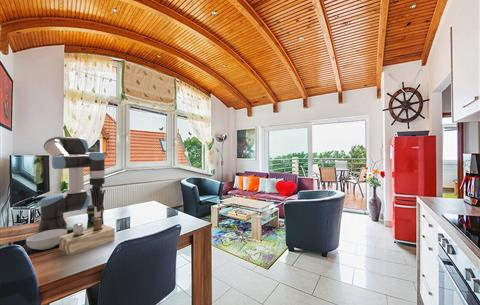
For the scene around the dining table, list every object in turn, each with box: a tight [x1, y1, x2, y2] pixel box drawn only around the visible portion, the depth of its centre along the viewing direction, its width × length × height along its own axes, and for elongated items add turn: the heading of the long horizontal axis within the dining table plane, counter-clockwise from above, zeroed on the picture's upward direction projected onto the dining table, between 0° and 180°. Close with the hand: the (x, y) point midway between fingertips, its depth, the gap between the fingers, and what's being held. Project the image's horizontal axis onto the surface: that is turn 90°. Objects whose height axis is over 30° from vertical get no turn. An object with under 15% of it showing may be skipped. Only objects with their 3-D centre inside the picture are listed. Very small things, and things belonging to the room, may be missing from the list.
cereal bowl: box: [25, 228, 68, 251], centre depth 116 cm, size 17×17×7 cm
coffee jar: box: [86, 204, 105, 229], centre depth 137 cm, size 10×8×19 cm
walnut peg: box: [94, 218, 102, 231], centre depth 123 cm, size 4×4×7 cm
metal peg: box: [72, 222, 84, 238], centre depth 115 cm, size 4×4×7 cm
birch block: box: [58, 224, 116, 256], centre depth 119 cm, size 14×22×7 cm, turn 150°
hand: (97, 216), depth 123 cm, fingers closed
